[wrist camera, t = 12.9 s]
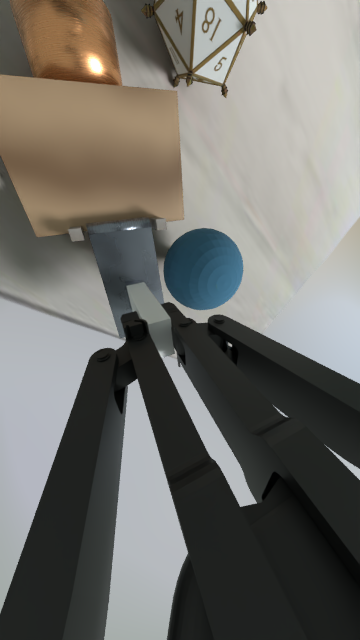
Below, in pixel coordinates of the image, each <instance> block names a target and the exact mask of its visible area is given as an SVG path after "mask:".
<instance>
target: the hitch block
mask: <svg viewBox="0 0 360 640" xmlns="http://www.w3.org/2000/svg"><path fill="white" fill-rule="evenodd" d="M0 156H1V158H2V160H3V162H4V165H5V167H6V169H7V171H8V174H9V176H10V178H11V180H12V183H13V185H14V187H15V189H16V192H17V194H18V196H19V198H20V201H21V203H22V205H23V207H24V210H25V212H26V214H27V216H28V219H29V221H30V223H31V225H32V228H33V230H34V232H35V234H36V237H43V236H52V235H60V234H68V233H69V234H70V237H71V240H72V242H74V241H82V240H84V238H85V237H84V234H83V232H85V231H87V228H86V224H85V223H94V222H103V221H113V220H122V219H131V218H140V217H149V219H150V222H151V228H152V229H155V230H164V229H167V227H166V222H168V221H176V220H184V207H183V189H182V171H181V153H180V135H179V116H178V98H177V91H171V90H160V89H149V88H139V87H128V86H118V85H107V84H96V83H86V82H75V81H64V80H54V79H43V78H32V77H22V76H11V75H0Z"/></svg>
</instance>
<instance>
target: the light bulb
mask: <svg viewBox="0 0 360 640" xmlns="http://www.w3.org/2000/svg"><path fill="white" fill-rule="evenodd" d="M242 275H243V260H242V256H241V254H240V251H239V249H238V247H237V245H236V244H235V243H234V242H233V241H232V240H231V239H230V238H229V237H228V236H227V235H225V234H224V233H222V232H219V231H217V230H214V229H207V228H201V229H194V230H192V231H189V232H187V233H185V234H184V235H182V236H181V237H179V238H178V239H177V240H176V241H175V242H174V243H173V244H172V246H171V247H170V249H169V250H168V253H167V255H166V258H165V262H164V279H165V283H166V286H167V288H168V290H169V291H170V293H171V295H172V296H173V297H174V298H175V299H176V300H177V301H178V302H180V303H181V304H183V305H184V306H186V307H189V308H192V309H196V310H208V309H213V308H216V307H218V306H220V305H222V304H224V303H225V302H227V301H228V300H229V299H230V298H231V297H232V296H233V295H234V294H235V292H236V291H237V289H238V287H239V285H240V283H241V280H242Z"/></svg>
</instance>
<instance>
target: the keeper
mask: <svg viewBox="0 0 360 640" xmlns="http://www.w3.org/2000/svg"><path fill="white" fill-rule="evenodd" d="M85 224H86V228H87V231H88V234H89V238H90V241H91V244H92V247H93V251H94V254H95V257H96V261H97V264H98V267H99V271H100V274H101V277H102V280H103V284H104V287H105V290H106V294H107V297H108V300H109V304H110V307H111V310H112V313H113V317H114V320H115V323H116V327H117V330H118V333H119V337H120V338H123V337H125V333H124V330H123V326H122V323H121V319H120V318H121V316H122V314H126V313H130V312H132V308H131V303H130V299H129V295H128V291H127V287H126V286H128V285H133V284H137V283H142V282H144V283H145V284H146V286H147V287H148V288H149V290H150V291H151V292H152V294H153V295H154V296H155V298H156V299H157V300H158V302H159V303H160V304H164V300H163V294H162V288H161V282H160V276H159V270H158V264H157V258H156V252H155V246H154V240H153V234H152V228H151V222H150V219H149V217H140V218H131V219H122V220H113V221H103V222H94V223H85Z"/></svg>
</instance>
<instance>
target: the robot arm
mask: <svg viewBox="0 0 360 640" xmlns="http://www.w3.org/2000/svg"><path fill="white" fill-rule="evenodd" d="M126 287H127V291H128V295H129V299H130V303H131V308H132V312H130V313H126V314H122V316H121V318H120V319H121V323H122V326H123V330H124V333H125V337H126V342H125V343H124V345H123V346H122V347H120V348H119V349H117V350H114V349H112V348H104V349H100V350H98V351H97V352H95V353H94V354H93V355H92V356H91V357H90V359H89V362H88V365H87V368H86V371H85V373H84V376H83V379H82V382H81V385H80V388H79V390H78V393H77V396H76V399H75V402H74V405H73V408H72V410H71V414H70V417H69V419H68V422H67V425H66V428H65V430H64V433H63V436H62V439H61V442H60V445H59V448H58V450H57V454H56V456H55V459H54V462H53V465H52V468H51V470H50V473H49V476H48V479H47V482H46V485H45V488H44V491H43V494H42V496H41V499H40V502H39V505H38V508H37V510H36V513H35V516H34V519H33V522H32V525H31V528H30V531H29V533H28V536H27V539H26V542H25V545H24V548H23V551H22V553H21V556H20V559H19V562H18V565H17V568H16V570H15V573H14V576H13V579H12V582H11V585H10V588H9V590H8V593H7V596H6V599H5V602H4V605H3V608H2V610H1V613H0V640H104V636H105V627H106V619H107V610H108V603H109V592H110V581H111V570H112V559H113V548H114V535H115V525H116V514H117V503H118V491H119V481H120V469H121V459H122V447H123V436H124V425H125V414H126V403H127V391H128V386H127V385H129V384H130V383H132V382H133V381H135V380H136V379H138V382H139V385H140V389H141V392H142V395H143V399H144V402H145V406H146V409H147V412H148V416H149V420H150V423H151V426H152V430H153V433H154V437H155V440H156V444H157V447H158V451H159V454H160V457H161V461H162V464H163V468H164V471H165V474H166V478H167V481H168V485H169V488H170V492H171V495H172V499H173V502H174V505H175V509H176V512H177V516H178V519H179V523H180V526H181V530H182V533H183V536H184V540H185V543H186V547H187V550H188V555H187V557H186V559H185V561H184V563H183V566H182V568H181V571H180V574H179V577H178V580H177V585H176V588H175V593H174V597H173V603H172V609H171V616H170V622H169V629H168V636H167V640H360V480H359V479H358V478H357V477H356V476H355V475H354V474H353V473H352V472H351V471H350V470H349V469H348V468H347V467H346V466H345V465H344V464H343V463H342V462H341V461H340V460H339V459H338V458H337V457H336V456H335V455H334V454H333V453H332V452H331V451H330V450H329V449H328V448H327V447H329V448H330V449H331V450H332V451H334V452H336V453H337V454H338V455H340V456H341V457H342V458H344V459H345V460H347V461H348V462H350V463H351V464H353V465H354V466H356V467H358V468H359V469H360V384H359V383H357V382H355V381H353V380H351V379H349V378H347V377H345V376H343V375H341V374H339V373H337V372H335V371H333V370H331V369H329V368H327V367H325V366H323V365H321V364H319V363H317V362H316V361H313V360H311V359H310V358H307V357H305V356H304V355H302V354H300V353H297V352H296V351H294V350H292V349H290V348H288V347H286V346H284V345H282V344H280V343H278V342H276V341H274V340H272V339H270V338H268V337H266V336H264V335H262V334H260V333H258V332H256V331H254V330H252V329H250V328H248V327H246V326H244V325H242V324H240V323H238V322H236V321H234V320H233V319H231V318H229V317H227V316H224V315H213V316H211V317H209V319H208V323H196V322H195V321H194V320H193V319H190V318H186V317H185V316H184V315H183V314H182V313H181V312H180V311H179V309H178V308H177V307H176V306H175V305H174V304H172V303H170V302H168V303H164V304H160V303H159V302H158V300H157V299H156V298H155V296H154V295H153V294H152V292H151V291H150V290H149V288H148V287H147V286H146V284H145V283H144V282H142V283H137V284H133V285H128V286H126ZM228 342H229V343H231V344H232V347H230V346H228ZM174 348H175V350H176V351H177V359H178V366H179V367H180V363H181V365H182V366H183V368H184V370H185V372H186V373H187V375H188V377H189V378H190V380H191V382H192V383H193V385H194V387H195V388H196V390H197V392H198V394H199V396H200V397H201V399H202V400H203V402H204V404H205V406H206V407H207V409H208V411H209V412H210V414H211V416H212V418H213V419H214V421H215V423H216V424H217V426H218V428H219V429H220V431H221V433H222V435H223V437H224V438H225V440H226V442H227V443H228V445H229V447H230V448H231V450H232V452H233V453H234V455H235V457H236V459H237V460H238V462H239V464H240V466H241V468H242V470H243V472H244V476H245V479H246V482H247V484H248V487H249V489H250V491H251V493H252V495H253V496H254V498H255V500H256V502H257V504H252V505H248V506H243V507H240V506H239V504H238V502H237V500H236V498H235V496H234V494H233V492H232V490H231V489H230V486H229V484H228V482H227V480H226V478H225V476H224V474H223V473H222V471H221V469H220V467H219V466H218V464H217V463H216V461H215V460H213V459H212V458H211V457H210V456H209V454H208V452H207V450H206V448H205V446H204V444H203V442H202V440H201V438H200V436H199V434H198V432H197V430H196V428H195V426H194V424H193V422H192V419H191V417H190V415H189V413H188V411H187V409H186V407H185V405H184V403H183V401H182V399H181V397H180V395H179V393H178V391H177V389H176V387H175V385H174V383H173V381H172V379H171V376H170V375H169V373H168V370H167V368H166V366H165V364H164V362H163V360H162V358H163V357H166V356H169V355H172V354H175V351H174ZM273 405H274V406H275V407H276V408H278V409H279V410H280V411H281V412H283V413H284V414H285V415H287V416H288V417H285V416H283V415H282V414H280V413H279V412H278V411H277V409H276V408H275V407H274V406H273ZM324 444H325V445H326V446H327V447H326V446H325V445H324Z"/></svg>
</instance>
